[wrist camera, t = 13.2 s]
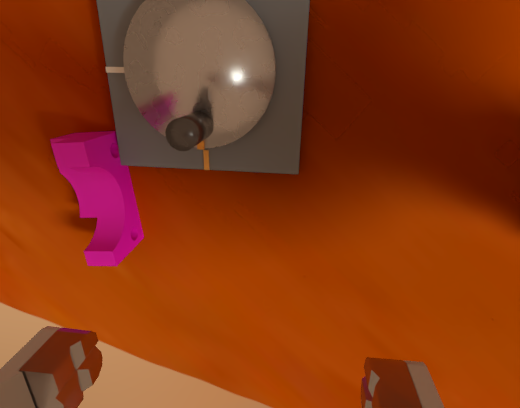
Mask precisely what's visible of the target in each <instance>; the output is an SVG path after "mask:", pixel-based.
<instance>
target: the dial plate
mask: <svg viewBox="0 0 520 408" xmlns="http://www.w3.org/2000/svg"><path fill="white" fill-rule="evenodd" d="M96 1H97V8H98V14H99V21H100V28H101V34H102V41H103V48H104V54H105V61H106V67H105V68H106V73H107V74H108V81H109V88H110V94H111V101H112V108H113V114H114V121H115V128H116V135H117V141H118V148H119V155H120V161H121V165H126V166H145V167H165V168H184V169H204V170H223V171H243V172H262V173H282V174H298V173H299V158H300V142H301V127H302V111H303V96H304V81H305V65H306V50H307V34H308V19H309V3H310V0H245V1H246V2H247V3H248V4H249V5H250V6H251V7H252V8H253V9H254V10H255V12H256V13H257V15H258V16H259V17H260V19H261V20H262V22H263V23H264V25H265V27H266V29H267V31H268V33H269V36H270V38H271V41H272V45H273V48H274V53H275V60H276V79H275V86H274V91H273V95H272V98H271V100H270V103H269V105H268V107H267V109H266V111H265V113H264V114H263V116H262V117H261V119H260V120H259V121H258V122H257V123H256V125H255V126H254V127H253V128H252V129H251V130H250V131H249V132H247V133H246V134H245V135H244V136H242V137H241V138H239V139H238V140H236V141H234V142H231V143H229V144H227V145H223V146H220V147H214V148H205V149H204V150H200V149H197V148H195V147H193V148H191V149H190V150H188V151H178V150H176V149H174V148H173V147H171V146H170V144H169V143H168V141H167V139H166V137H165V136H164V135H162V134H161V133H160V132H158V131H157V130H156V129H155V128H154V127H153V126H151V125H150V123H149V122H148V121H147V120H146V119H145V118H144V117H143V115H142V114H141V112H140V111H139V110H138V108H137V106H136V104H135V103H134V101H133V99H132V96H131V94H130V92H129V89H128V85H127V82H126V78H125V73H124V63H123V52H124V43H125V37H126V34H127V30H128V27H129V25H130V22H131V20H132V18H133V16H134V14H135V13H136V11H137V10H138V8H139V7H140V5H141V4H142V3H143V2H144V1H145V0H96Z"/></svg>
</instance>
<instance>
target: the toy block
mask: <svg viewBox="0 0 520 408" xmlns="http://www.w3.org/2000/svg"><path fill="white" fill-rule="evenodd" d="M50 141H51V146H52V149H53V153H54V156H55V159H56V162H57V166H58V168H59V171H60V174H62V175H63V176H64V177H65V178H67V180H68V181H69V182H70V183H71V185H72V186H73V188H74V190H75V192H76V195H77V198H78V201H79V207H80V218H97V226H96V230H95V233H94V236H93V238H92V240H91V242H90V244H89V245H88V247H87V248H86V249H85V250H84V254H85V257H86V260H87V264H88V266H117V265H118V264H119V263H120V262H121V261H122V260H123V259H124V258H125V257H126V256H127V255H128V254H129V253H130V252H131V251H132V250H133V249H134V248H135V247H136V246H137V244H138V243H139V242H140V241H141V240H142V239H143V238H144V235H143V231H142V226H141V222H140V217H139V213H138V208H137V204H136V199H135V195H134V190H133V186H132V181H131V177H130V173H129V168H128V166H126V165H121V161H120V155H119V148H118V141H117V135H116V131H102V132H83V133H72V134H68V135H65V136H61V137H57V138H53V139H50Z"/></svg>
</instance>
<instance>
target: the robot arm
mask: <svg viewBox="0 0 520 408" xmlns="http://www.w3.org/2000/svg"><path fill="white" fill-rule="evenodd" d="M97 342H98V338H97V335H96V333H95V332H92V331H85V330H77V329H69V328H59V327H50V326H47V327H45V328H43V329H41V330H40V331H39V332H38V333H37V334H36V335H35V336H34V337H33V338H32V339H31V340H30V341H29V342H28V343H27V344H26V345H25V346H24V347H23V348H22V349H21V350H20V351H19V352H18V353H16V354H15V355H14V356H13V358H11V359H10V360H9V361H8V362H7V363H6V364H5V365H4V366H3V367H2V368H1V369H0V408H77V407H78V406H79V405H80V403H81V402H82V400H83V391H84V390H86V389H87V388H89V387H90V386H92V385H93V384H94V382H95V381H96V379H97V378H98V376H99V373H100V370H101V367H102V354H101V351H100V350H99V349H98V348H97V347H96V346H95V345H96V344H97ZM364 370H365V375H366V376H365V377H364V378H362V383H361V405H362V408H444V406H443V403H442V401H441V399H440V396H439V394H438V392H437V389H436V387H435V385H434V382H433V380H432V378H431V376H430V373H429V371H428V369H427V366H426V365H425V364H424V363H423V362H415V361H402V360H393V359H381V358H369V357H367V358H366V360H365V364H364Z"/></svg>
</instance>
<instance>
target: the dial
mask: <svg viewBox="0 0 520 408" xmlns="http://www.w3.org/2000/svg"><path fill="white" fill-rule="evenodd" d="M123 63H124V73H125V78H126V82H127V85H128V89H129V92H130V94H131V96H132V99H133V101H134V103H135V104H136V106H137V108H138V110H139V111H140V112H141V114H142V115H143V117H144V118H145V119H146V120H147V121H148V122H149V123H150V125H151V126H153V127H154V128H155V129H156V130H157V131H158V132H160V133H161V134H162V135H164V136H165V137H166V139H167V141H168V143H169V144H170V146H171V147H173V148H174V149H176V150H178V151H188V150H190V149H191V148H193V147H195V148H197V149H200V150H204V149H205V148H214V147H220V146H223V145H227V144H229V143H231V142H234V141H236V140H238V139H239V138H241V137H242V136H244V135H245V134H246V133H247V132H249V131H250V130H251V129H252V128H253V127H254V126H255V125H256V123H257V122H258V121H259V120H260V119H261V117H262V116H263V114H264V113H265V111H266V109H267V107H268V105H269V103H270V100H271V98H272V95H273V91H274V86H275V79H276V60H275V53H274V48H273V45H272V41H271V38H270V36H269V33H268V31H267V29H266V27H265V25H264V23H263V22H262V20H261V19H260V17H259V16H258V15H257V13H256V12H255V10H254V9H253V8H252V7H251V6H250V5H249V4H248V3H247V2H246V1H245V0H145V1H144V2H143V3H142V4H141V5H140V7H139V8H138V10H137V11H136V13H135V14H134V16H133V18H132V20H131V22H130V25H129V27H128V30H127V34H126V37H125V43H124V52H123Z"/></svg>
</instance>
